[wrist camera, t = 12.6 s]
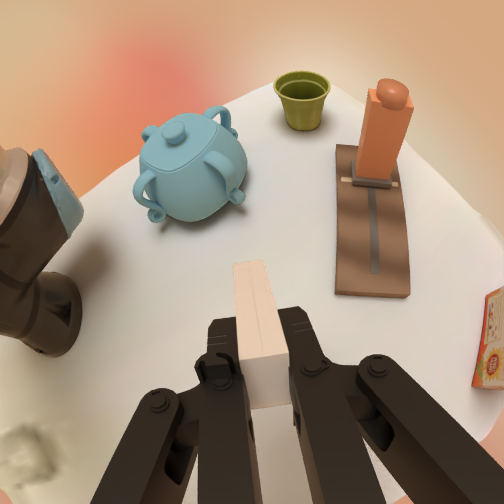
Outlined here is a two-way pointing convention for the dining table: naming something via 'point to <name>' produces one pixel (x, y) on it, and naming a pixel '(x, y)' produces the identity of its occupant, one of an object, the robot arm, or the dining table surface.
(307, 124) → the plant pot
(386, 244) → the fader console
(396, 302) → the dining table surface
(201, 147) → the decorative pot
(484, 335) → the cracker box
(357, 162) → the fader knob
